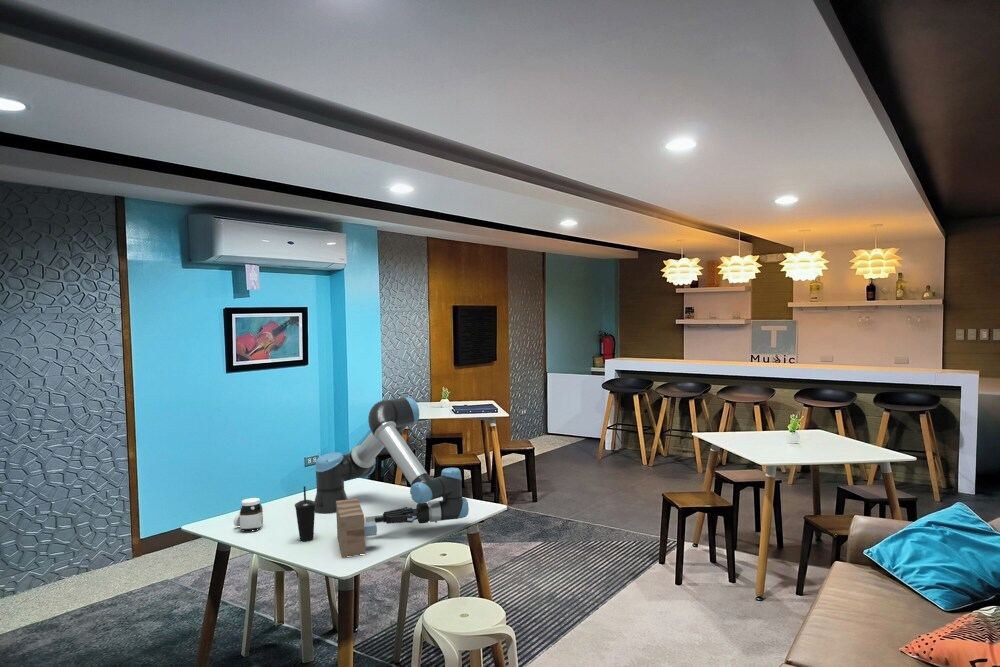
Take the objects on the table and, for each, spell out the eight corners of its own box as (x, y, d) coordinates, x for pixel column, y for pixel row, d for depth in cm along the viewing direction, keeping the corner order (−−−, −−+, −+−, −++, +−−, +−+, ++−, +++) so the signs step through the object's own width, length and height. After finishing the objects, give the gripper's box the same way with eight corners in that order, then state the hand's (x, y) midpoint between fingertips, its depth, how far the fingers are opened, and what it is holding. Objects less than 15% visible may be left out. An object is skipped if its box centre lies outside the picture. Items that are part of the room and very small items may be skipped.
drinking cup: (297, 544, 234) (294, 490, 234) (294, 538, 241) (292, 485, 241) (318, 541, 237) (316, 487, 237) (315, 535, 244) (313, 483, 244)
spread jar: (257, 532, 250) (256, 503, 250) (228, 534, 249) (227, 504, 249) (267, 523, 262) (265, 494, 262) (238, 524, 261) (237, 496, 261)
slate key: (358, 533, 228) (357, 523, 228) (375, 530, 230) (375, 521, 230) (359, 537, 224) (359, 527, 224) (377, 535, 226) (377, 525, 225)
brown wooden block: (337, 538, 240) (335, 501, 240) (359, 535, 242) (357, 498, 242) (341, 557, 219) (339, 517, 219) (365, 554, 221) (363, 514, 221)
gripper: (431, 527, 239) (367, 535, 231) (425, 517, 251) (364, 525, 244) (431, 507, 238) (367, 514, 231) (424, 498, 251) (363, 505, 244)
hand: (365, 520), depth 238 cm, fingers closed
